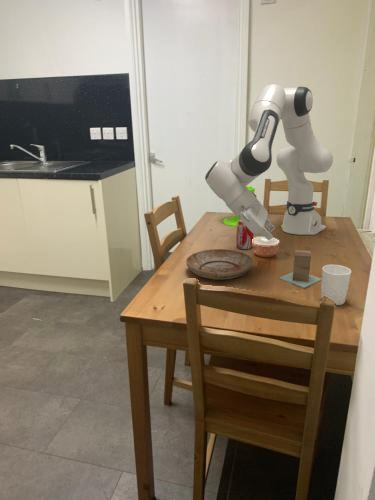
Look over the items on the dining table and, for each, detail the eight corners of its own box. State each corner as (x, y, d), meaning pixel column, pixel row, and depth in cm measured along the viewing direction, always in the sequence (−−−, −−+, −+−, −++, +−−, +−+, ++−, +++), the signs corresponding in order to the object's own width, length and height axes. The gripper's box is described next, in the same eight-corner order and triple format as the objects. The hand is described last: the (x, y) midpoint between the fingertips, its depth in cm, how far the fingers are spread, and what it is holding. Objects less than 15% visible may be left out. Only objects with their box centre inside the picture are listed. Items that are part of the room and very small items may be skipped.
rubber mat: (296, 271, 131) (297, 270, 131) (321, 280, 124) (322, 278, 123) (279, 279, 125) (279, 277, 125) (304, 289, 118) (304, 287, 118)
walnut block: (292, 274, 127) (295, 250, 124) (308, 275, 126) (310, 251, 123) (292, 280, 123) (294, 255, 120) (308, 281, 121) (310, 256, 118)
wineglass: (259, 221, 195) (260, 187, 189) (242, 228, 183) (243, 192, 177) (233, 216, 205) (234, 184, 199) (216, 222, 193) (217, 188, 187)
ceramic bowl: (205, 256, 147) (205, 244, 146) (261, 267, 136) (262, 254, 134) (174, 277, 129) (173, 264, 127) (236, 291, 117) (236, 277, 115)
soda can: (252, 250, 152) (254, 222, 148) (235, 249, 154) (236, 222, 150) (253, 245, 159) (254, 218, 155) (236, 244, 160) (237, 217, 156)
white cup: (314, 295, 114) (318, 265, 111) (339, 293, 114) (343, 263, 111) (325, 307, 107) (329, 275, 103) (351, 305, 107) (356, 274, 104)
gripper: (246, 204, 111) (277, 237, 111) (254, 191, 129) (281, 220, 130) (231, 218, 113) (261, 250, 114) (241, 203, 132) (267, 231, 132)
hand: (272, 234), depth 122 cm, fingers open, 8 cm apart
